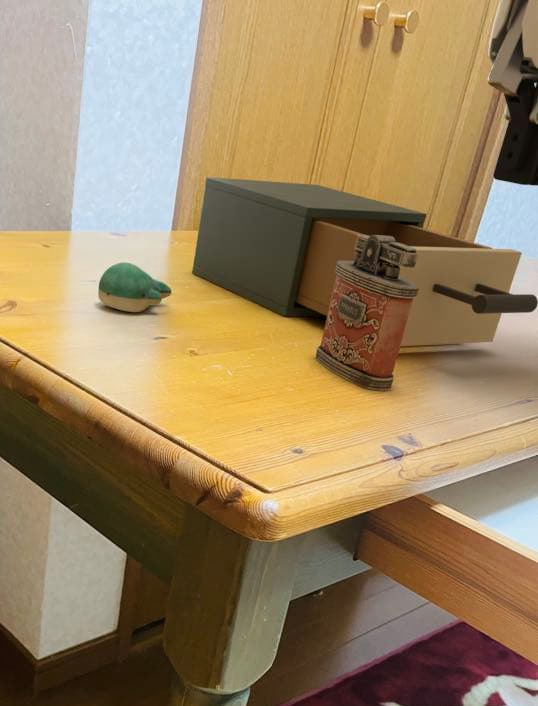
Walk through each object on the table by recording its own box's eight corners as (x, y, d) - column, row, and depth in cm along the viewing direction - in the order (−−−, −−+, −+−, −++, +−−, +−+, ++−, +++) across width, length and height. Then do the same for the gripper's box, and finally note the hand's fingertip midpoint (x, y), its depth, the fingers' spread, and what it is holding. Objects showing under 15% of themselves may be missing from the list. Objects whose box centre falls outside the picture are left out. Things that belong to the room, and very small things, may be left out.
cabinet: (399, 314, 85) (427, 213, 80) (285, 317, 78) (307, 207, 73) (298, 273, 97) (317, 184, 92) (191, 273, 90) (205, 176, 86)
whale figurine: (81, 301, 74) (85, 257, 72) (138, 294, 79) (143, 252, 77) (129, 319, 71) (134, 273, 69) (185, 310, 76) (191, 267, 74)
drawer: (545, 363, 71) (580, 268, 67) (433, 370, 65) (464, 266, 61) (374, 296, 87) (394, 216, 83) (270, 297, 80) (287, 211, 77)
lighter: (305, 355, 67) (334, 224, 63) (340, 355, 69) (371, 227, 64) (364, 390, 61) (402, 248, 56) (402, 389, 62) (441, 250, 58)
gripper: (586, -156, 48) (486, 186, 57) (730, -105, 55) (621, 194, 64) (484, -140, 54) (408, 170, 63) (626, -95, 61) (539, 179, 70)
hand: (516, 181), depth 63 cm, fingers closed
